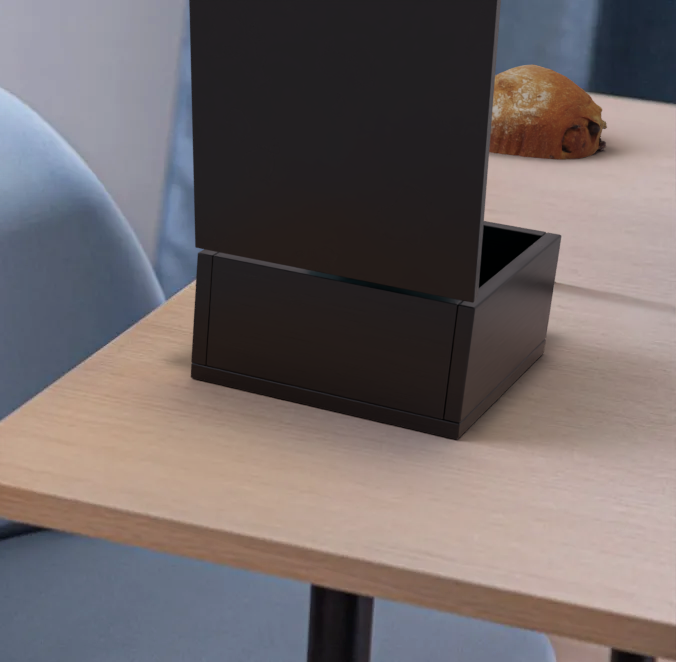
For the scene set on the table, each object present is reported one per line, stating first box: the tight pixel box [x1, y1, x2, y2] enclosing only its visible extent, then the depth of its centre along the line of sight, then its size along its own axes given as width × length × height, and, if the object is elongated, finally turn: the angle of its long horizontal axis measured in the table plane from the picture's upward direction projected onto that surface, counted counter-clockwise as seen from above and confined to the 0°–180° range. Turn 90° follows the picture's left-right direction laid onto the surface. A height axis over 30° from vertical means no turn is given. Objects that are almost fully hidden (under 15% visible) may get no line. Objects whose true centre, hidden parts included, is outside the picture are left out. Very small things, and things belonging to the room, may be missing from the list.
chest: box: [190, 220, 562, 440], centre depth 87 cm, size 14×14×6 cm
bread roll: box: [489, 64, 608, 160], centre depth 128 cm, size 10×10×8 cm
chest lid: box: [188, 0, 502, 303], centre depth 76 cm, size 14×14×1 cm
